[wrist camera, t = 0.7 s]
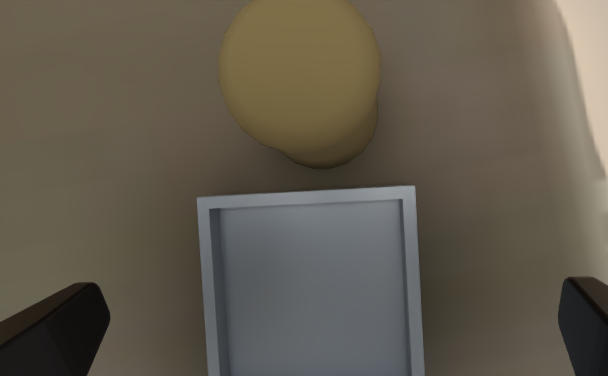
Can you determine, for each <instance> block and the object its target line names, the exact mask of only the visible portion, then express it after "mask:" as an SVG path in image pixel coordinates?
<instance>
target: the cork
mask: <svg viewBox="0 0 608 376" xmlns="http://www.w3.org/2000/svg"><path fill="white" fill-rule="evenodd" d="M218 82H219V85H220V88H221V91H222V94H223V97H224V100H225V103H226V106H227V109H228V111H229V112H230V114H231V115H232V116H233V118H234V119H235V121H236V122H237V123H238V125H239V126H240V127H241V129H242V130H243V131H245V132H246V133H247V134H249V135H250V136H251V137H253V138H254V139H256V140H257V141H258V142H260V143H261V144H263V145H266V146H269V147H272V148H275V149H278V150H281V152H282V153H283V154H284V155H286V156H287V157H288V158H290V159H291V160H293V161H294V162H295V163H297V164H300V165H304V166H307V167H310V168H333V167H336V166H339V165H342V164H345V163H348V162H349V161H350V160H352V159H353V158H354V157H356V156H357V155H358V154H360V153H361V152H362V151H363V150H364V148H365V147H366V145H367V144H368V143H369V141H370V140H371V139H372V137H373V134H374V130H375V127H376V124H377V121H378V102H377V99H376V94H377V91H378V88H379V85H380V82H381V54H380V51H379V48H378V45H377V42H376V39H375V36H374V33H373V30H372V28H371V27H370V25H369V24H368V23H367V21H366V20H365V19H364V17H363V16H362V15H361V13H360V12H359V11H358V9H357V8H356V7H355V6H354V5H353V4H352V3H350V2H349V1H347V0H252V1H251V2H250V3H248V4H247V5H246V6H245V7H243V8H242V9H241V10H240V11H239V12H238V14H237V15H236V17H235V18H234V20H233V21H232V23H231V24H230V26H229V27H228V29H227V30H226V32H225V35H224V38H223V41H222V45H221V48H220V51H219V55H218Z"/></svg>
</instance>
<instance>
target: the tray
mask: <svg viewBox="0 0 608 376" xmlns="http://www.w3.org/2000/svg"><path fill="white" fill-rule="evenodd" d="M197 211H198V226H199V241H200V256H201V271H202V287H203V302H204V317H205V332H206V347H207V363H208V376H425V369H424V349H423V330H422V311H421V292H420V273H419V254H418V234H417V215H416V196H415V185H410V184H407V185H389V186H371V187H353V188H335V189H317V190H298V191H280V192H262V193H244V194H226V195H210V196H203V197H197Z"/></svg>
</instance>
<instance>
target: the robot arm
mask: <svg viewBox="0 0 608 376" xmlns="http://www.w3.org/2000/svg"><path fill="white" fill-rule="evenodd" d="M109 323H110V311H109V309H108V306H107V304H106V301H105V299H104V297H103V294H102V292H101V289H100V287H99V286H98V285H97V284H96V283H93V282H79V283H75V284H72V285H70V286H68V287H67V288H65V289H63V290H61V291H59V292H57V293H55V294H53V295H51V296H49V297H47V298H46V299H44V300H42V301H40V302H38V303H36V304H34V305H32V306H30V307H28V308H26V309H24V310H23V311H21V312H19V313H17V314H15V315H13V316H11V317H9V318H7V319H5V320H3V321H2V322H0V376H87V374H88V372H89V370H90V367H91V365H92V363H93V360H94V358H95V356H96V353H97V351H98V349H99V346H100V344H101V342H102V339H103V337H104V335H105V333H106V330H107V328H108V326H109ZM558 323H559V327H560V330H561V333H562V336H563V339H564V342H565V345H566V348H567V351H568V354H569V357H570V360H571V363H572V366H573V369H574V372H575V375H576V376H608V285H606V284H605V283H603V282H601V281H600V280H598V279H596V278H594V277H568V278H566V279H565V280H564V282H563V286H562V292H561V298H560V305H559V311H558Z"/></svg>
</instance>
